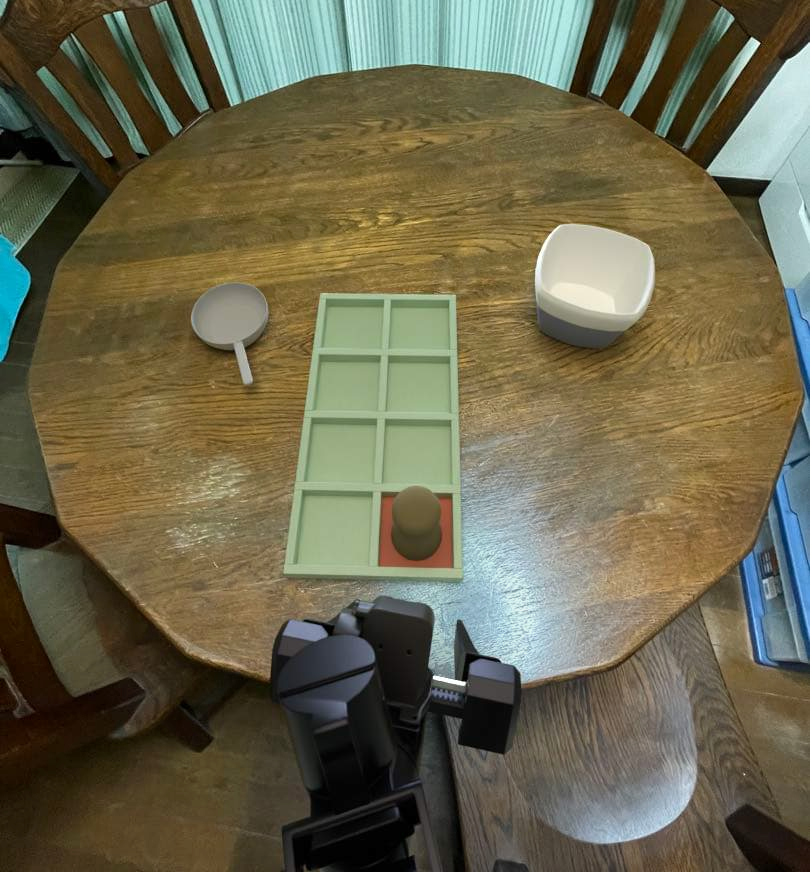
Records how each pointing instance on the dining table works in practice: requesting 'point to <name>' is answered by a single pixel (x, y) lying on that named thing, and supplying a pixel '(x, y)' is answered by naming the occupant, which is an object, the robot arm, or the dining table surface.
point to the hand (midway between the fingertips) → (407, 613)
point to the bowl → (592, 284)
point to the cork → (416, 523)
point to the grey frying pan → (231, 320)
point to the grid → (377, 437)
